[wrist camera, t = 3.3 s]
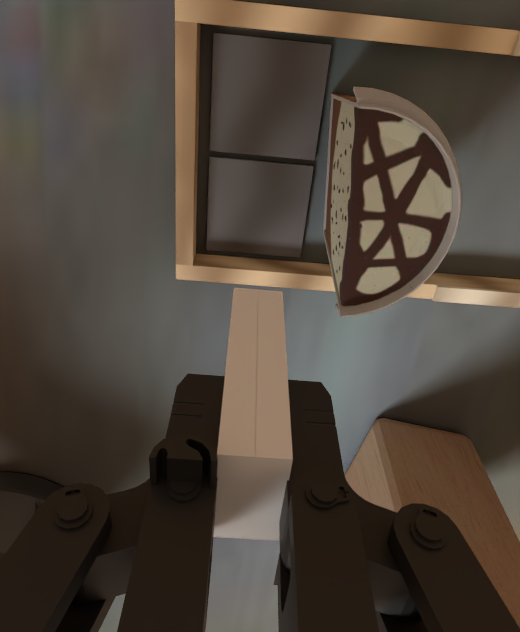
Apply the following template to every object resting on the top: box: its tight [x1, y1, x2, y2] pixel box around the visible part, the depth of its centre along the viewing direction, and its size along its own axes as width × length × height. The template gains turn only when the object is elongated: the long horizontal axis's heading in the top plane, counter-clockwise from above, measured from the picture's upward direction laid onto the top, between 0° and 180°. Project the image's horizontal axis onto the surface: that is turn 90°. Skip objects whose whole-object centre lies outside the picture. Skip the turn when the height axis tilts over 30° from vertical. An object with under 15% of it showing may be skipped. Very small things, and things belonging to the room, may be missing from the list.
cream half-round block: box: [323, 87, 462, 317], centre depth 29 cm, size 12×6×10 cm, turn 1°
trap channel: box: [175, 0, 520, 308], centre depth 33 cm, size 30×17×2 cm, turn 85°
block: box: [345, 418, 520, 628], centre depth 41 cm, size 10×10×20 cm
